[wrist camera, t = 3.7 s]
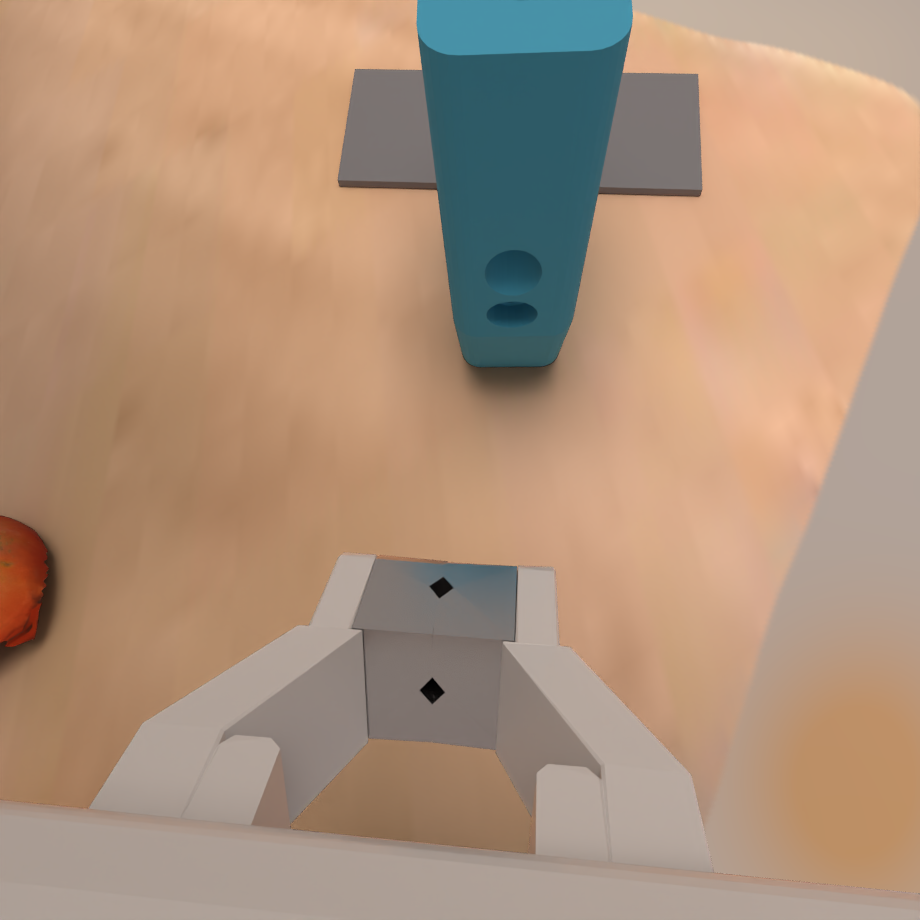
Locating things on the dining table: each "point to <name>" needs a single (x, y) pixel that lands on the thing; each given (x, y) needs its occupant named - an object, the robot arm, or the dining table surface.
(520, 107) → the block
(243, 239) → the dining table surface
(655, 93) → the mat
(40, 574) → the tomato
